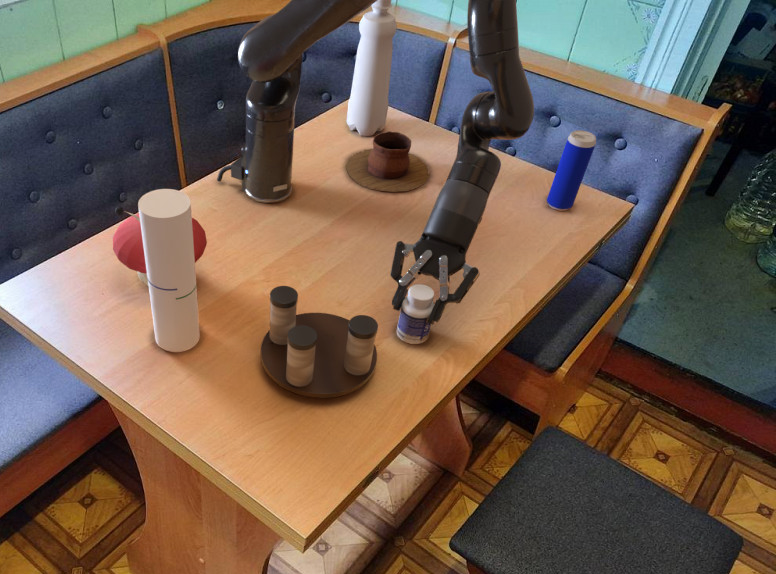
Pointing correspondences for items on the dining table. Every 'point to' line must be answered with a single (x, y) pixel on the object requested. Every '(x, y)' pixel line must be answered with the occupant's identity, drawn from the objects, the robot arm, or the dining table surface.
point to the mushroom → (131, 243)
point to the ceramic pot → (388, 165)
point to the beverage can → (571, 170)
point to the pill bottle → (416, 314)
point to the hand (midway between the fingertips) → (413, 316)
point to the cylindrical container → (170, 267)
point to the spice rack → (317, 348)
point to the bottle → (372, 71)
